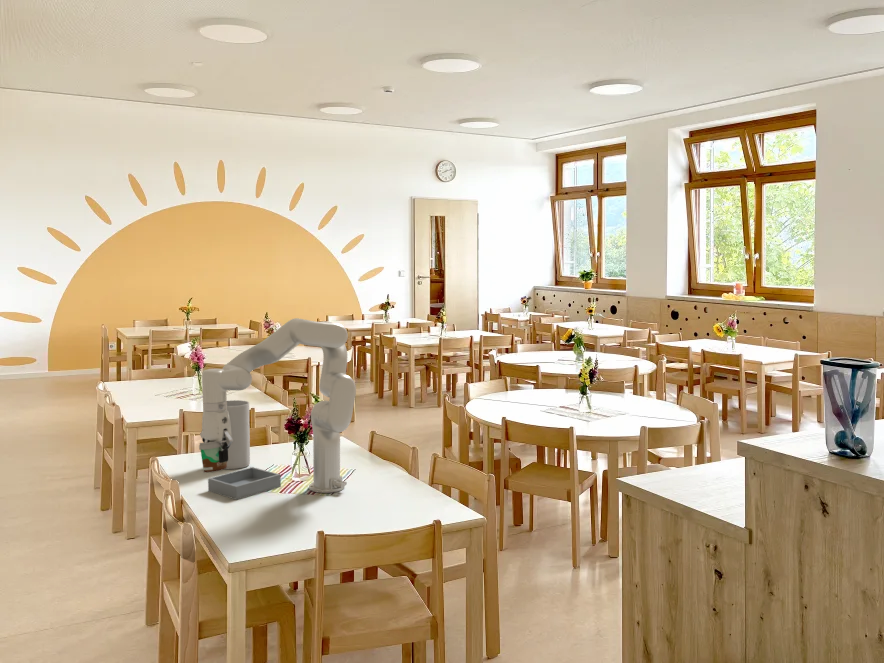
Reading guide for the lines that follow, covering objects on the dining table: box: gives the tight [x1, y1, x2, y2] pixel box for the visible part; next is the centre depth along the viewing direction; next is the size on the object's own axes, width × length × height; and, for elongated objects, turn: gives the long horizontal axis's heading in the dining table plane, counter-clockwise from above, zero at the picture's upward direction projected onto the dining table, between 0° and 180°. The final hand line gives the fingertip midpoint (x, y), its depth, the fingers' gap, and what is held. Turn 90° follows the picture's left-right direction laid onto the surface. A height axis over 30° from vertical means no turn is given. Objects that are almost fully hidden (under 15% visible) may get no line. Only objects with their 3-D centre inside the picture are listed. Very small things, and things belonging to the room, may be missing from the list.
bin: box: [207, 466, 282, 500], centre depth 282 cm, size 16×20×4 cm
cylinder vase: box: [224, 399, 251, 470], centre depth 311 cm, size 12×12×25 cm
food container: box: [198, 439, 227, 473], centre depth 260 cm, size 12×6×10 cm, turn 166°
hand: (216, 459), depth 260 cm, fingers closed on food container, 6 cm apart
